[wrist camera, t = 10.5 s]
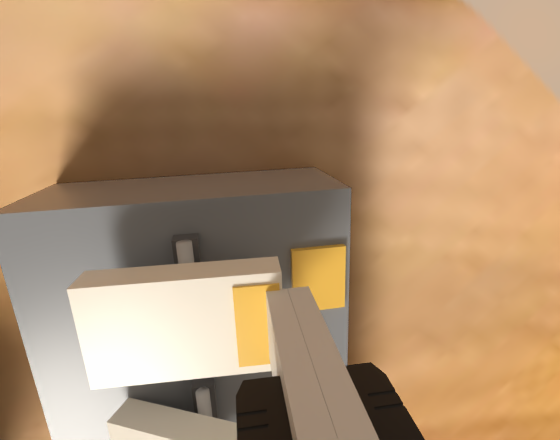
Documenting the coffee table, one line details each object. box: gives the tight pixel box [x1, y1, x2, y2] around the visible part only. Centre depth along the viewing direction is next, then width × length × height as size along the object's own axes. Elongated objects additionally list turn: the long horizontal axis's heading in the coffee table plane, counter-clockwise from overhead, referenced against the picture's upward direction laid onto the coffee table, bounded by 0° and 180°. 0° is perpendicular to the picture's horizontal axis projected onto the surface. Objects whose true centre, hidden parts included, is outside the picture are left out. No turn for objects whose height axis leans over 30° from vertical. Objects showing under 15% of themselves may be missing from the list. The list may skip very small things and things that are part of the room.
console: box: [0, 167, 351, 440], centre depth 20 cm, size 14×22×7 cm, turn 2°
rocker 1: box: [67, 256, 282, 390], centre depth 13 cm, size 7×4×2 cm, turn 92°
